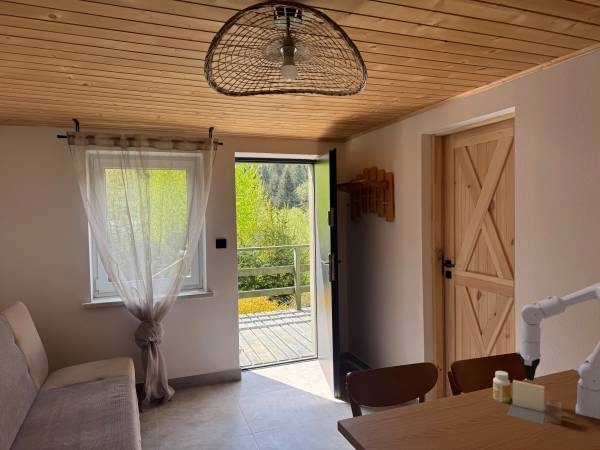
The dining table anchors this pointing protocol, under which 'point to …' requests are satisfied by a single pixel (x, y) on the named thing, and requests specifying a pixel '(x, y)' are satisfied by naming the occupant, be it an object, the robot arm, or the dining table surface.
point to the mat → (526, 413)
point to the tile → (528, 395)
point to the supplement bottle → (501, 387)
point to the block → (553, 412)
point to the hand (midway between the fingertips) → (529, 379)
